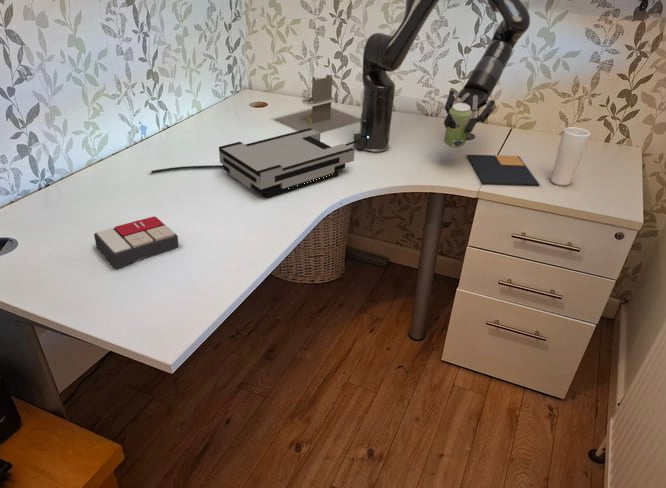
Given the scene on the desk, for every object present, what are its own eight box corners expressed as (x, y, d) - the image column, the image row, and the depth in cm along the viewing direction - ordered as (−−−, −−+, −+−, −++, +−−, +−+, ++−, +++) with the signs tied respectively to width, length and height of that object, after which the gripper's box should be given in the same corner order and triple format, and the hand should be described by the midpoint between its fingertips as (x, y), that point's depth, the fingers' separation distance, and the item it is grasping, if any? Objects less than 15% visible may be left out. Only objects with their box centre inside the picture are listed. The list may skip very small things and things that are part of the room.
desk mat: (482, 184, 150) (482, 181, 149) (466, 156, 166) (467, 153, 165) (538, 186, 150) (539, 183, 149) (518, 157, 166) (518, 155, 165)
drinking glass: (571, 179, 154) (589, 128, 145) (573, 189, 149) (591, 137, 140) (547, 175, 155) (563, 125, 146) (547, 185, 150) (564, 133, 141)
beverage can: (463, 141, 156) (471, 100, 149) (466, 151, 151) (475, 109, 143) (441, 140, 157) (449, 99, 150) (444, 150, 151) (451, 108, 144)
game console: (352, 172, 154) (355, 145, 149) (261, 202, 138) (260, 173, 133) (309, 149, 167) (309, 124, 162) (221, 174, 151) (218, 146, 146)
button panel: (178, 232, 118) (112, 252, 110) (179, 249, 120) (115, 269, 112) (155, 213, 125) (92, 230, 116) (157, 229, 127) (95, 247, 119)
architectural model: (273, 119, 189) (273, 76, 180) (325, 105, 202) (327, 65, 193) (309, 135, 177) (311, 90, 168) (362, 120, 190) (366, 78, 182)
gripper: (510, 90, 149) (481, 142, 149) (464, 80, 156) (436, 129, 156) (507, 74, 142) (476, 129, 142) (459, 64, 150) (430, 116, 150)
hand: (455, 129), depth 149 cm, fingers closed on beverage can, 5 cm apart
